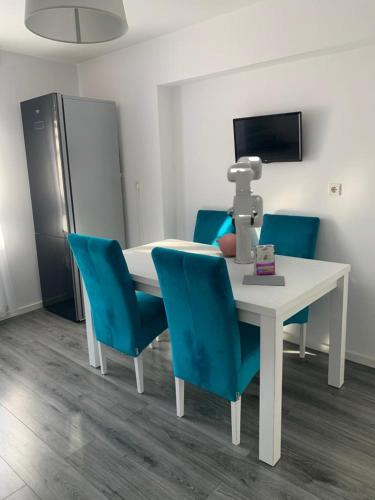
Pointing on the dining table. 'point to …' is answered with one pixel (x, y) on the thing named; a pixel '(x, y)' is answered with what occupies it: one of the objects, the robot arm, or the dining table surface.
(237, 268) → the dining table surface
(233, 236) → the balloon
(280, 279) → the rubber mat
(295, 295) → the dining table surface
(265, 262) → the candy bar box
